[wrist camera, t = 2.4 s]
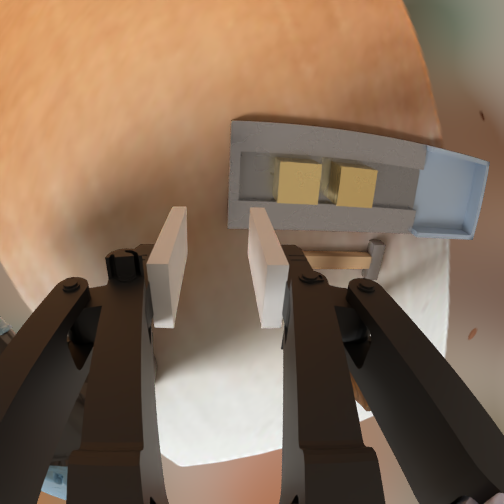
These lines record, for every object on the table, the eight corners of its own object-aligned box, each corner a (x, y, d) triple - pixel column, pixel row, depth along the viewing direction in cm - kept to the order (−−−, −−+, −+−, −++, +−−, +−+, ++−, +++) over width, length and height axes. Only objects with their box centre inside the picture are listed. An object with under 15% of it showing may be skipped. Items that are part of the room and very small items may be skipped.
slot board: (227, 222, 34) (227, 228, 32) (231, 120, 29) (231, 120, 28) (403, 228, 36) (411, 233, 35) (418, 143, 32) (427, 145, 30)
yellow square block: (272, 195, 32) (277, 203, 30) (275, 156, 31) (280, 161, 28) (309, 196, 33) (317, 204, 30) (313, 159, 31) (322, 164, 28)
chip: (327, 197, 33) (336, 205, 30) (331, 161, 31) (341, 166, 28) (360, 199, 33) (371, 208, 31) (365, 164, 32) (377, 170, 29)
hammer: (272, 274, 38) (274, 280, 36) (276, 236, 36) (278, 242, 34) (371, 273, 39) (376, 280, 38) (380, 240, 37) (385, 245, 36)
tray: (405, 228, 36) (416, 237, 34) (420, 143, 32) (433, 146, 29) (461, 232, 38) (472, 239, 35) (476, 157, 33) (489, 162, 30)
